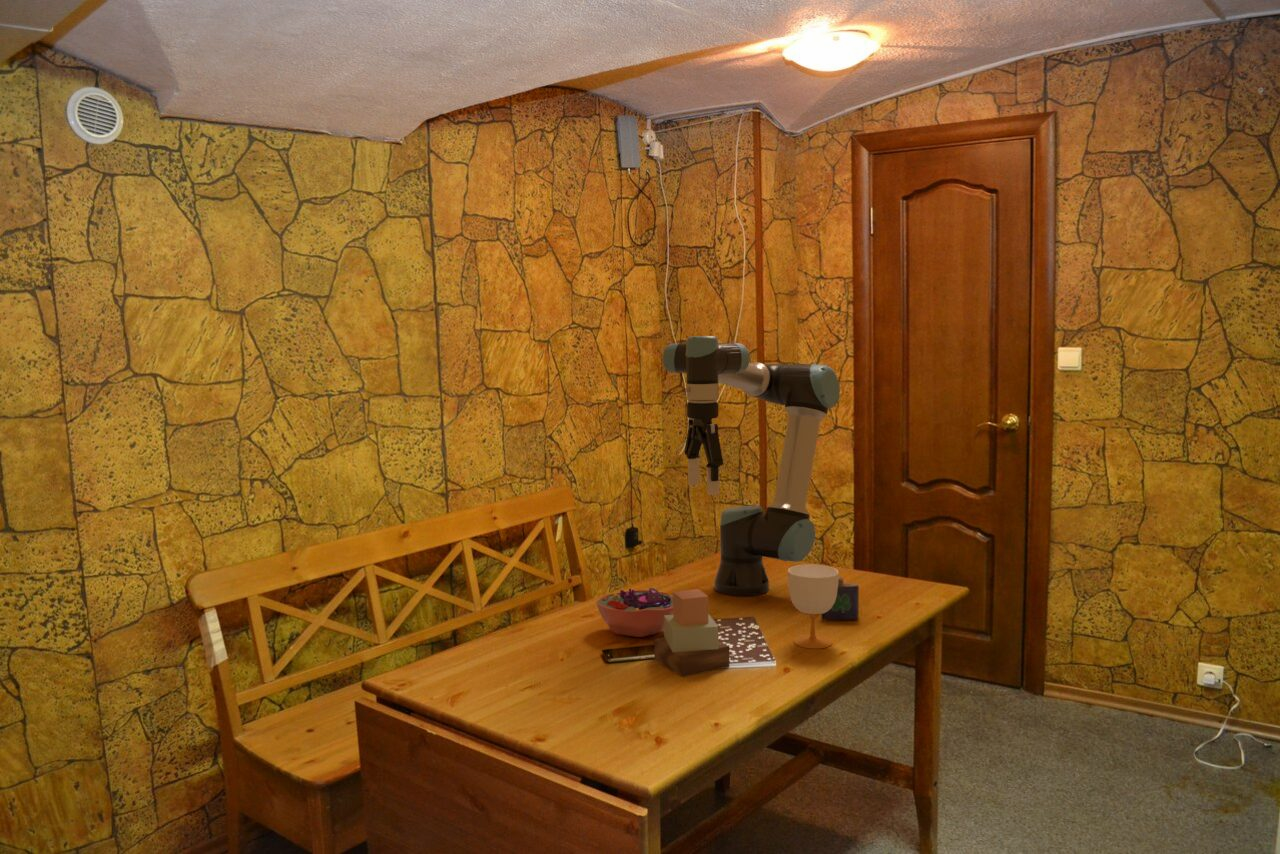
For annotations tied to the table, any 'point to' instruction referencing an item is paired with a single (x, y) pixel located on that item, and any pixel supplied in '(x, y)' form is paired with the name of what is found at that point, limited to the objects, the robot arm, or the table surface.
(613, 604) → the cell model
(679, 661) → the tower base
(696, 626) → the tower top
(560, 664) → the table surface
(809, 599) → the cup
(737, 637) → the table surface
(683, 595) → the block
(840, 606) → the flask
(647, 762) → the table surface
